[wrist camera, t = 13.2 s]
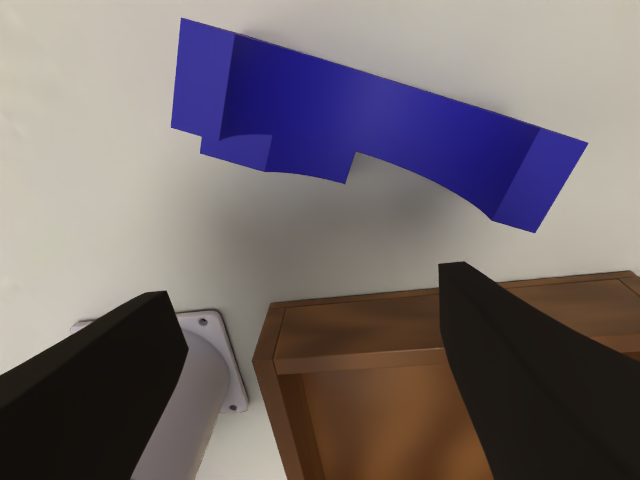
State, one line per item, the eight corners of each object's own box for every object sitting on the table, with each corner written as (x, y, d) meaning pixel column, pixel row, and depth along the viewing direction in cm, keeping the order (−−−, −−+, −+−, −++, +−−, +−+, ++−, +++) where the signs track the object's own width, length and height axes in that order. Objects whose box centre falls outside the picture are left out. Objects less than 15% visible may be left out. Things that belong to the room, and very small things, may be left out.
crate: (320, 501, 29) (315, 574, 25) (270, 302, 21) (251, 360, 17) (579, 496, 27) (621, 575, 23) (631, 270, 19) (711, 328, 15)
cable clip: (222, 139, 17) (166, 173, 12) (239, 33, 15) (181, 17, 10) (462, 209, 18) (512, 271, 13) (507, 116, 16) (588, 142, 11)
